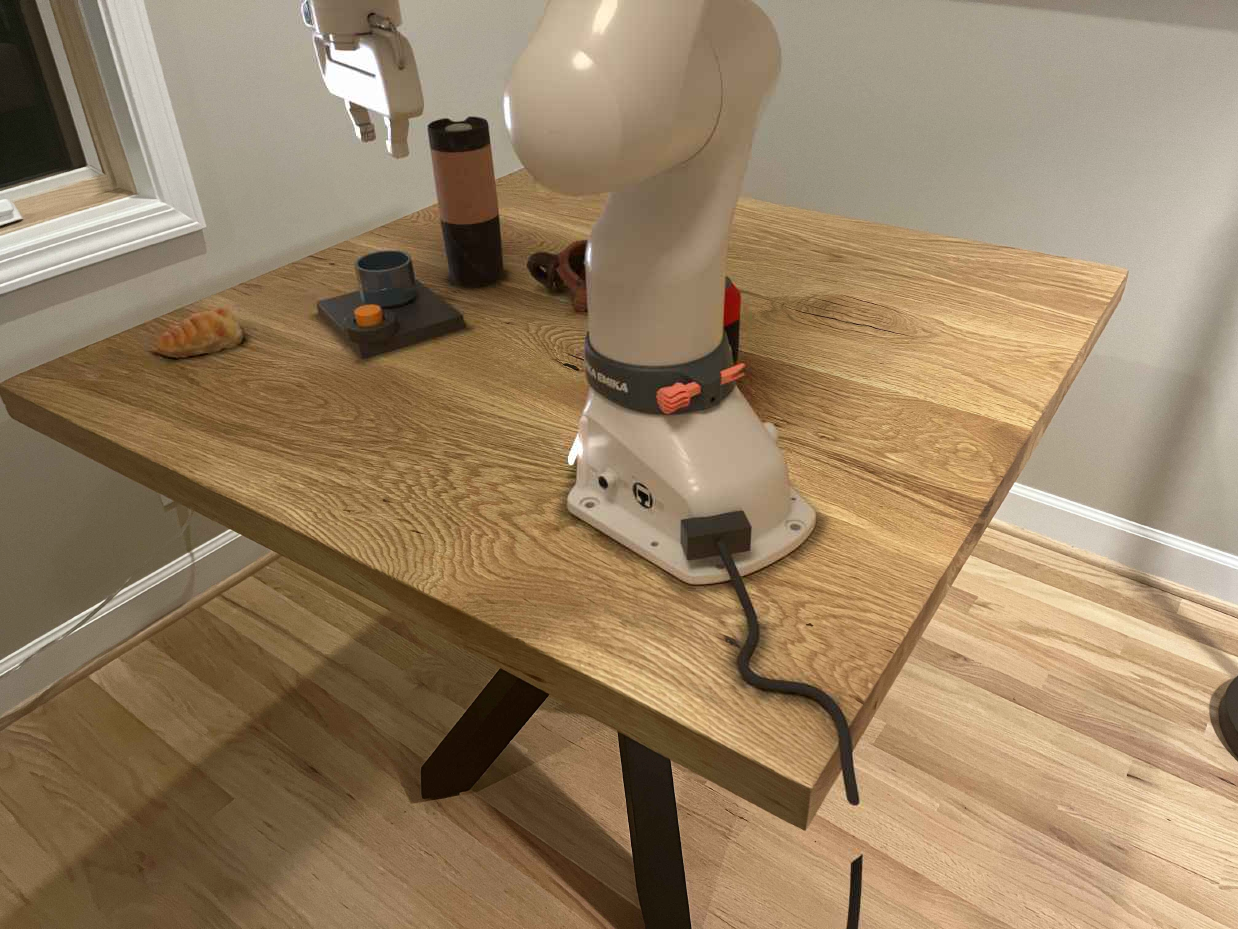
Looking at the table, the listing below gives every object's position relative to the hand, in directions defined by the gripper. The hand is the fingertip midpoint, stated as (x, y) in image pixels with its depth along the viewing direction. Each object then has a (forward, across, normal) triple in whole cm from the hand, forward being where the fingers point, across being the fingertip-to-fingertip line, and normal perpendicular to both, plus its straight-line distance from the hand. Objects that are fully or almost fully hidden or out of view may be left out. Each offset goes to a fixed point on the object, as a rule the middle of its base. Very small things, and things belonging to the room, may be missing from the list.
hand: (382, 148), depth 100 cm
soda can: (+22, -35, -17) cm, 45 cm away
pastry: (+20, +9, +23) cm, 32 cm away
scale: (+21, +1, +3) cm, 21 cm away
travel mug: (+21, +7, -12) cm, 25 cm away
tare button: (+18, -4, +7) cm, 19 cm away
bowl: (+19, +4, +2) cm, 19 cm away
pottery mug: (+21, -7, -19) cm, 29 cm away
